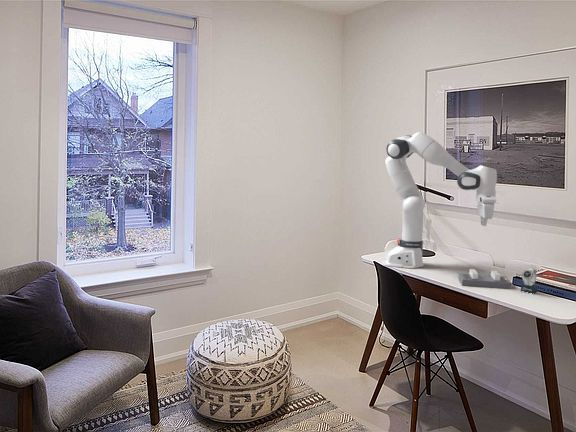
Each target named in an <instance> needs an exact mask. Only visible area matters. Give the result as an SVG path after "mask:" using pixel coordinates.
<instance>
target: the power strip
mask: <svg viewBox="0 0 576 432" xmlns="http://www.w3.org/2000/svg"><path fill="white" fill-rule="evenodd" d="M457 277H458V281H459V283H460V284H461V286H462V287H463V286H465V287H478V288H479V287H480V288H489V289H490V288H493V289H504V290H505V289H507V290H511V289H512V284H513V282H512V281H510V279H509V278H508V277H507V276H506V275H504V276H503V275H500V281H495V280H494V279H493V278H492V277H491V274H490V275H489V274H478V279H472V277H471V276H470V275H469V273H458V276H457Z"/></svg>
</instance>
